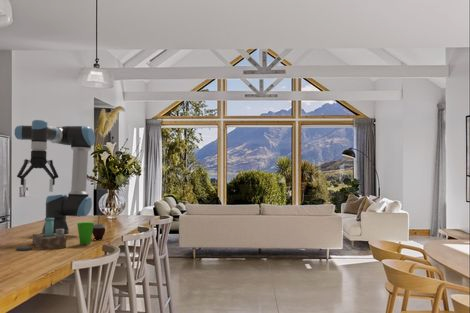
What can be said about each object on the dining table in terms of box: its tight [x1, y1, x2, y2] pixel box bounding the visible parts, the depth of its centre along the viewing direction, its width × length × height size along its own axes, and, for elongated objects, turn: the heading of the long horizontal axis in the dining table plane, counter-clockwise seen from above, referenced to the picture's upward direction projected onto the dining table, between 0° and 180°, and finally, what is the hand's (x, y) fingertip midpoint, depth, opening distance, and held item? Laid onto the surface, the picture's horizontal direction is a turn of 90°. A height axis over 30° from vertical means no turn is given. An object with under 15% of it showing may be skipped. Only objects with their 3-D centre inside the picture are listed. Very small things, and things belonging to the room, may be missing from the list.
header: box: [31, 229, 67, 250], centre depth 275 cm, size 12×20×9 cm, turn 32°
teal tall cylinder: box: [44, 217, 54, 237], centre depth 275 cm, size 5×5×14 cm
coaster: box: [15, 246, 33, 252], centre depth 261 cm, size 7×7×1 cm
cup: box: [76, 221, 96, 245], centre depth 283 cm, size 9×9×11 cm
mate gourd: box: [92, 213, 106, 240], centre depth 302 cm, size 8×8×15 cm
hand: (37, 191), depth 277 cm, fingers open, 13 cm apart
